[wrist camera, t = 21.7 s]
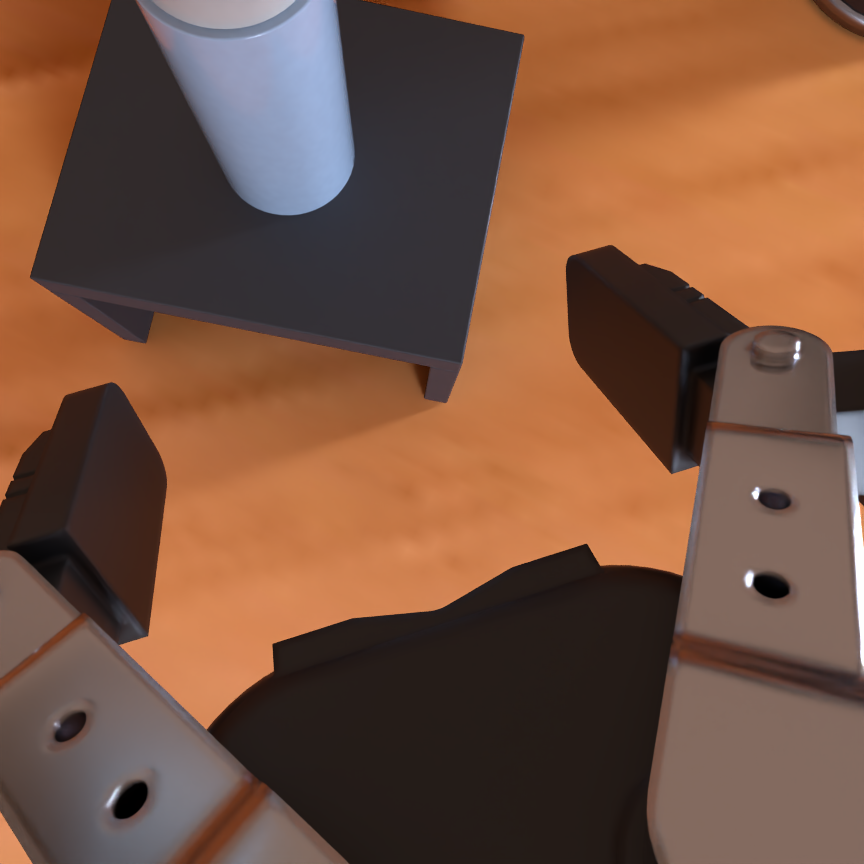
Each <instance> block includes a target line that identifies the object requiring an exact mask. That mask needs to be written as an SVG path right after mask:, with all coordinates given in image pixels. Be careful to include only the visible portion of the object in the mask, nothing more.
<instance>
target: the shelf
mask: <svg viewBox="0 0 864 864" xmlns="http://www.w3.org/2000/svg"><path fill="white" fill-rule="evenodd" d="M336 3H337V11H338V19H339V27H340V35H341V43H342V51H343V59H344V68H345V76H346V84H347V92H348V100H349V108H350V116H351V124H352V133H353V141H354V149H355V158H354V165H353V169H352V172H351V175H350V177H349V179H348V181H347V183H346V184H345V186H344V187H343V189H342V190H341V191H340V192H339V194H338V195H337V196H336V197H334V198H333V199H332V200H331V201H330V202H328V203H327V204H325V205H324V206H322V207H320V208H318V209H316V210H313V211H311V212H308V213H303V214H299V215H277V214H272V213H268V212H264V211H262V210H259V209H257V208H255V207H253V206H252V205H250V204H248V203H247V202H245V201H244V200H243V199H242V198H241V197H240V196H238V195H237V194H236V193H235V191H234V190H233V189H232V187H231V186H230V184H229V183H228V181H227V179H226V177H225V175H224V173H223V171H222V169H221V168H220V166H219V164H218V162H217V160H216V158H215V156H214V154H213V152H212V150H211V148H210V146H209V144H208V142H207V140H206V138H205V136H204V134H203V132H202V130H201V128H200V126H199V124H198V123H197V121H196V119H195V117H194V115H193V113H192V111H191V109H190V107H189V105H188V103H187V101H186V99H185V97H184V95H183V93H182V91H181V89H180V87H179V85H178V83H177V81H176V79H175V77H174V76H173V74H172V72H171V70H170V68H169V66H168V64H167V62H166V60H165V58H164V56H163V54H162V52H161V50H160V48H159V46H158V44H157V42H156V40H155V38H154V36H153V34H152V32H151V31H150V29H149V27H148V25H147V23H146V21H145V19H144V17H143V15H142V13H141V11H140V9H139V7H138V5H137V3H136V1H135V0H111V4H110V7H109V10H108V14H107V17H106V21H105V24H104V27H103V31H102V34H101V38H100V41H99V44H98V48H97V51H96V55H95V58H94V61H93V65H92V68H91V71H90V75H89V78H88V82H87V85H86V88H85V92H84V95H83V99H82V102H81V105H80V109H79V112H78V116H77V119H76V122H75V126H74V129H73V132H72V136H71V139H70V143H69V146H68V149H67V153H66V156H65V160H64V163H63V166H62V170H61V173H60V177H59V180H58V183H57V187H56V190H55V193H54V197H53V200H52V204H51V207H50V210H49V214H48V217H47V221H46V224H45V227H44V231H43V234H42V238H41V241H40V244H39V248H38V251H37V254H36V258H35V261H34V265H33V268H32V271H31V275H30V278H31V279H33V280H34V281H36V282H37V283H39V284H40V285H42V286H43V287H45V288H46V289H48V290H49V291H51V292H52V293H54V294H55V295H57V296H58V297H60V298H61V299H63V300H64V301H66V302H67V303H69V304H71V305H72V306H74V307H75V308H77V309H78V310H80V311H81V312H83V313H84V314H86V315H87V316H89V317H91V318H92V319H94V320H95V321H97V322H98V323H100V324H101V325H103V326H104V327H106V328H107V329H109V330H110V331H112V332H114V333H115V334H117V335H118V336H120V337H121V338H123V339H126V340H131V341H136V342H141V343H146V341H147V337H148V333H149V330H150V326H151V322H152V318H153V314H154V312H158V313H163V314H168V315H173V316H178V317H183V318H188V319H193V320H198V321H203V322H208V323H213V324H218V325H223V326H228V327H233V328H239V329H244V330H249V331H254V332H259V333H264V334H269V335H274V336H279V337H284V338H289V339H294V340H299V341H304V342H309V343H314V344H319V345H324V346H329V347H334V348H339V349H344V350H349V351H354V352H359V353H364V354H369V355H374V356H379V357H384V358H389V359H394V360H399V361H404V362H409V363H414V364H419V365H424V366H429V367H430V370H429V375H428V380H427V385H426V390H425V395H424V398H425V399H428V400H433V401H438V402H443V403H446V402H447V401H448V398H449V396H450V393H451V391H452V388H453V386H454V383H455V381H456V378H457V376H458V373H459V370H460V368H461V365H462V363H463V358H464V352H465V347H466V342H467V337H468V331H469V326H470V321H471V316H472V310H473V305H474V300H475V294H476V289H477V284H478V279H479V273H480V268H481V263H482V258H483V252H484V247H485V242H486V237H487V231H488V226H489V221H490V216H491V210H492V205H493V200H494V195H495V189H496V184H497V179H498V173H499V168H500V163H501V158H502V152H503V147H504V142H505V137H506V131H507V126H508V121H509V116H510V110H511V105H512V100H513V95H514V89H515V84H516V79H517V74H518V68H519V63H520V58H521V52H522V47H523V42H524V35H522V34H518V33H513V32H508V31H504V30H499V29H494V28H489V27H485V26H480V25H475V24H471V23H466V22H461V21H456V20H452V19H447V18H442V17H438V16H433V15H428V14H423V13H419V12H414V11H409V10H405V9H400V8H395V7H390V6H386V5H381V4H376V3H372V2H367V1H362V0H336Z"/></svg>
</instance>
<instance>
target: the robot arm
mask: <svg viewBox="0 0 864 864" xmlns="http://www.w3.org/2000/svg"><path fill="white" fill-rule="evenodd" d="M813 1H814V2H815V3H816V4H817V5H818V6H819V8H820V9H821V10H822V11H823V12H824V13H825V14H826V15H828V16H829V17H830V18H831V19H832V20H834V21H835V22H836V23H838V24H839V25H841V26H842V27H844V28H846V29H848V30H849V31H851V32H853V33H855V34H858V35H860V36H863V37H864V0H813ZM566 283H567V304H568V326H569V339H570V344H571V348H572V351H573V354H574V356H575V358H576V360H577V362H578V364H579V365H580V367H581V368H582V369H583V370H584V371H585V373H586V374H587V375H588V376H589V377H590V379H591V380H592V381H593V382H594V383H595V384H596V386H597V387H598V388H599V389H600V390H601V392H602V393H603V394H604V395H605V396H606V397H607V399H608V400H609V401H610V402H611V403H612V404H613V406H614V407H615V408H616V409H617V410H618V412H619V413H620V414H621V415H622V416H623V417H624V419H625V420H626V421H627V422H628V423H629V425H630V426H631V427H632V428H633V429H634V430H635V432H636V433H637V434H638V435H639V436H640V437H641V439H642V440H643V441H644V442H645V443H646V445H647V446H648V447H649V448H650V449H651V450H652V452H653V453H654V454H655V455H656V456H657V458H658V459H659V460H660V461H661V462H662V463H663V465H664V466H665V467H666V468H667V469H668V470H669V472H670V473H671V474H673V473H676V472H679V471H683V470H686V469H689V468H692V467H695V466H699V467H700V470H699V477H698V483H697V489H696V496H695V502H694V508H693V515H692V521H691V527H690V534H689V540H688V547H687V553H686V559H685V566H684V572H683V576H681V575H678V574H675V573H672V572H668V571H663V570H658V569H653V568H648V567H639V566H630V565H606V566H600V565H599V563H598V561H597V560H596V558H595V557H594V555H593V553H592V552H591V550H590V548H589V547H588V545H587V544H584V545H581V546H578V547H574V548H571V549H568V550H565V551H562V552H559V553H556V554H553V555H549V556H546V557H543V558H540V559H537V560H534V561H531V562H528V563H524V564H521V565H518V566H515V567H512V568H510V569H509V570H507V571H505V572H503V573H502V574H500V575H498V576H497V577H495V578H493V579H491V580H490V581H488V582H486V583H485V584H483V585H481V586H480V587H478V588H476V589H474V590H473V591H471V592H469V593H468V594H466V595H464V596H462V597H461V598H459V599H457V600H456V601H454V602H452V603H451V604H449V605H447V606H445V607H443V608H441V609H438V610H434V611H428V612H417V613H406V614H395V615H384V616H374V617H363V618H352V619H349V620H346V621H343V622H340V623H337V624H333V625H330V626H327V627H324V628H321V629H318V630H315V631H312V632H308V633H305V634H302V635H299V636H296V637H293V638H290V639H287V640H283V641H280V642H277V643H274V644H273V662H274V672H272V673H270V674H269V675H267V676H265V677H264V678H262V679H261V680H259V681H258V682H257V683H255V684H254V685H252V686H251V687H250V688H248V689H247V690H246V691H244V692H243V693H242V694H241V695H240V696H239V697H238V698H236V699H235V700H234V701H233V702H232V703H231V704H230V705H229V706H228V707H227V708H226V709H225V710H224V711H223V712H222V713H221V714H220V715H219V716H218V717H217V718H216V719H215V720H214V721H213V723H212V724H211V725H210V726H209V728H208V729H207V730H206V729H205V728H204V727H203V726H202V725H201V724H200V723H199V722H198V721H197V720H196V719H195V718H193V717H192V716H191V715H190V714H189V713H188V712H187V711H186V710H185V709H184V708H183V707H182V706H181V705H180V704H179V703H178V702H177V701H176V700H175V699H174V698H173V697H172V696H171V695H170V694H169V693H168V692H167V691H166V690H165V689H163V688H162V687H161V686H160V685H159V684H158V683H157V682H156V681H155V680H154V679H153V678H152V677H151V676H150V675H149V674H148V673H147V672H146V671H145V670H144V669H143V668H142V667H141V666H140V665H139V664H138V663H137V662H136V661H135V660H134V659H132V658H131V657H130V656H129V655H128V654H127V653H126V652H125V651H124V650H123V649H122V648H121V647H120V646H119V645H121V644H124V643H127V642H130V641H133V640H137V639H140V638H143V637H146V636H148V633H149V625H150V617H151V609H152V601H153V593H154V585H155V577H156V569H157V561H158V553H159V545H160V537H161V529H162V521H163V513H164V505H165V497H166V489H167V478H166V472H165V468H164V464H163V461H162V459H161V456H160V454H159V452H158V450H157V449H156V447H155V445H154V443H153V442H152V440H151V438H150V437H149V435H148V433H147V431H146V430H145V428H144V426H143V425H142V423H141V421H140V419H139V418H138V416H137V414H136V413H135V411H134V409H133V407H132V406H131V404H130V402H129V401H128V399H127V397H126V395H125V394H124V392H123V391H122V390H121V388H120V387H119V386H118V385H116V384H115V383H112V382H111V383H107V384H104V385H100V386H96V387H93V388H89V389H86V390H82V391H78V392H75V393H71V394H68V395H66V396H65V397H64V398H63V401H62V403H61V406H60V408H59V411H58V414H57V416H56V419H55V421H54V424H53V427H52V429H51V430H48V431H44V432H43V433H42V434H41V435H40V436H39V437H38V438H37V439H36V440H35V441H34V442H33V444H32V445H31V446H30V447H29V448H28V449H27V450H26V451H25V452H24V453H23V454H22V456H21V459H20V461H19V463H18V466H17V468H16V471H15V473H14V475H13V478H14V481H11V482H10V485H9V487H8V489H7V492H6V494H5V496H6V499H5V500H3V501H2V503H1V506H0V812H1V813H2V815H3V816H4V818H5V820H6V821H7V823H8V825H9V826H10V828H11V829H12V831H13V833H14V834H15V836H16V837H17V839H18V841H19V842H20V844H21V845H22V847H23V849H24V850H25V852H26V853H27V855H28V857H29V858H30V860H31V862H32V863H33V864H864V558H863V546H862V535H861V523H860V512H859V502H860V503H861V504H862V505H863V506H864V350H857V351H845V352H832V351H831V349H830V347H829V346H828V345H827V344H826V343H825V342H824V341H823V340H822V339H820V338H819V337H817V336H815V335H813V334H811V333H808V332H806V331H803V330H799V329H795V328H790V327H784V326H756V327H750V328H749V327H748V326H746V325H745V324H743V323H742V322H741V321H739V320H738V319H737V318H735V317H734V316H732V315H731V314H730V313H728V312H727V311H725V310H724V309H723V308H721V307H720V306H718V305H717V304H716V303H714V302H713V301H711V300H710V299H709V298H704V295H703V294H702V293H700V292H699V291H697V290H696V289H695V288H693V287H691V288H690V287H689V284H688V283H686V282H685V281H684V280H682V279H681V278H679V277H678V276H677V275H675V274H674V273H672V272H671V271H667V270H664V269H661V268H658V267H654V266H651V265H648V264H641V265H638V264H637V263H635V262H634V261H633V260H632V259H630V258H629V257H628V256H626V255H625V254H624V253H622V252H621V251H620V250H618V249H617V248H616V247H614V246H612V245H608V246H605V247H601V248H597V249H594V250H590V251H587V252H583V253H579V254H576V255H572V256H570V257H569V258H568V261H567V264H566Z"/></svg>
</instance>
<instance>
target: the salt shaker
mask: <svg viewBox="0 0 864 864" xmlns="http://www.w3.org/2000/svg"><path fill="white" fill-rule="evenodd" d="M135 1H136V3H137V5H138V7H139V9H140V11H141V13H142V15H143V17H144V19H145V21H146V23H147V25H148V27H149V29H150V31H151V32H152V34H153V36H154V38H155V40H156V42H157V44H158V46H159V48H160V50H161V52H162V54H163V56H164V58H165V60H166V62H167V64H168V66H169V68H170V70H171V72H172V74H173V76H174V77H175V79H176V81H177V83H178V85H179V87H180V89H181V91H182V93H183V95H184V97H185V99H186V101H187V103H188V105H189V107H190V109H191V111H192V113H193V115H194V117H195V119H196V121H197V123H198V124H199V126H200V128H201V130H202V132H203V134H204V136H205V138H206V140H207V142H208V144H209V146H210V148H211V150H212V152H213V154H214V156H215V158H216V160H217V162H218V164H219V166H220V168H221V169H222V171H223V173H224V175H225V177H226V179H227V181H228V183H229V184H230V186H231V187H232V189H233V190H234V191H235V193H236V194H237V195H238V196H240V197H241V198H242V199H243V200H244V201H245V202H247V203H248V204H250V205H252V206H253V207H255V208H257V209H259V210H262V211H264V212H268V213H272V214H277V215H299V214H303V213H308V212H311V211H313V210H316V209H318V208H320V207H322V206H324V205H325V204H327V203H328V202H330V201H331V200H332V199H333V198H334V197H336V196H337V195H338V194H339V192H340V191H341V190H342V189H343V187H344V186H345V184H346V183H347V181H348V179H349V177H350V175H351V172H352V169H353V165H354V158H355V149H354V141H353V133H352V124H351V116H350V108H349V100H348V92H347V84H346V76H345V68H344V59H343V51H342V43H341V35H340V27H339V19H338V11H337V3H336V0H135Z"/></svg>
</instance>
